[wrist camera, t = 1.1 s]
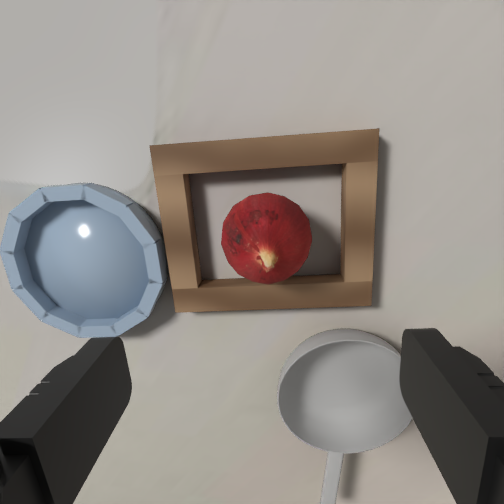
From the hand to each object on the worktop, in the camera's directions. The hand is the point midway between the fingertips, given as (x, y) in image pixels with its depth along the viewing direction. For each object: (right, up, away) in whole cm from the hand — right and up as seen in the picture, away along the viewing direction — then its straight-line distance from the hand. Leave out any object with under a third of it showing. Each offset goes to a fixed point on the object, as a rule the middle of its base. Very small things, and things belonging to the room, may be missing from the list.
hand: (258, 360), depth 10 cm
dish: (-13, +3, +17) cm, 22 cm away
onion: (+1, +5, +16) cm, 17 cm away
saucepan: (+7, -11, +21) cm, 24 cm away
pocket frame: (+1, +5, +16) cm, 17 cm away
